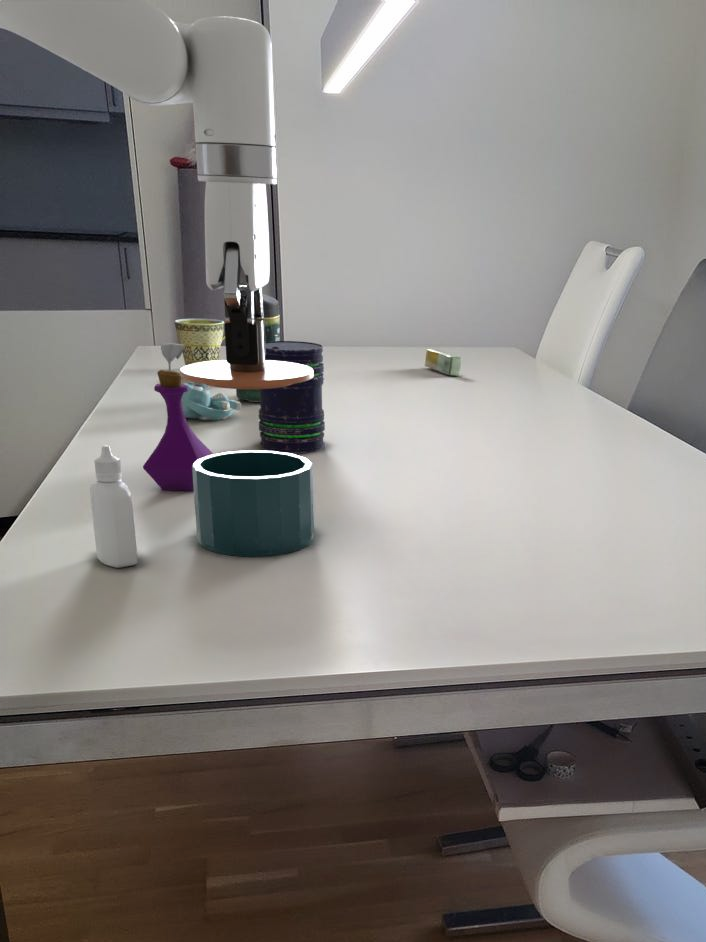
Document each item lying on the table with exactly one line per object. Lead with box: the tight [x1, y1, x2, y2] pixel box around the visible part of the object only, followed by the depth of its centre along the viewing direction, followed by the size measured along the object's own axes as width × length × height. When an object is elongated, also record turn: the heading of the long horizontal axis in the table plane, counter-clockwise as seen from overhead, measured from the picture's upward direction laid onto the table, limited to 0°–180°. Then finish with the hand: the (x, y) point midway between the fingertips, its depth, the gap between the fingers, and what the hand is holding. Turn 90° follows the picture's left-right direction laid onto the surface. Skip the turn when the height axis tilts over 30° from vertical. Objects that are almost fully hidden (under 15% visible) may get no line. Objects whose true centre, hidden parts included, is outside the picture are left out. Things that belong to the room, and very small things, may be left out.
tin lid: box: [179, 318, 314, 390], centre depth 107 cm, size 14×14×6 cm
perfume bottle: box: [142, 342, 214, 492], centre depth 131 cm, size 8×8×18 cm
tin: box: [192, 450, 315, 558], centre depth 114 cm, size 13×13×8 cm
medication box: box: [424, 348, 463, 377], centre depth 229 cm, size 12×3×4 cm, turn 31°
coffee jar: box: [235, 293, 281, 403], centre depth 188 cm, size 10×8×19 cm
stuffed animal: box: [181, 382, 242, 422], centre depth 174 cm, size 11×7×12 cm
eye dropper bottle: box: [89, 444, 139, 569], centre depth 105 cm, size 4×6×12 cm
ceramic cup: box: [174, 318, 225, 366], centre depth 218 cm, size 13×10×10 cm
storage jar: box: [258, 340, 326, 454], centre depth 155 cm, size 10×10×15 cm
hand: (246, 358), depth 107 cm, fingers closed on tin lid, 3 cm apart
